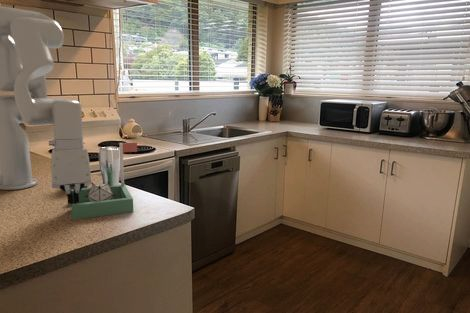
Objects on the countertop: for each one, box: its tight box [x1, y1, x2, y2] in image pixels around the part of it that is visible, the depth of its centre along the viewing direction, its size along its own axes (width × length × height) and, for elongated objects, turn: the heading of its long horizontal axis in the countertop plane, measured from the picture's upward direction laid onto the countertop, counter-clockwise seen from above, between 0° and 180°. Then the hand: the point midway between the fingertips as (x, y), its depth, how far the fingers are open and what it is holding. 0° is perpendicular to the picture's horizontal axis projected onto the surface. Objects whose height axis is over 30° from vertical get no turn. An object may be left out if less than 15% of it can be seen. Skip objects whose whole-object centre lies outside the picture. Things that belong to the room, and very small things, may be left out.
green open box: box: [70, 141, 138, 220], centre depth 110 cm, size 21×16×18 cm
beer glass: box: [98, 146, 121, 186], centre depth 125 cm, size 7×7×15 cm
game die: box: [85, 182, 116, 202], centre depth 108 cm, size 9×8×10 cm
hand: (73, 205), depth 107 cm, fingers closed
